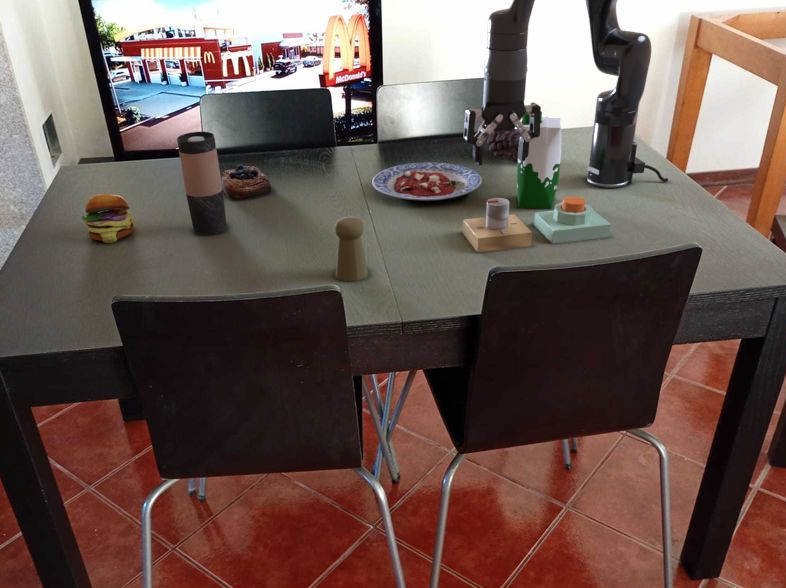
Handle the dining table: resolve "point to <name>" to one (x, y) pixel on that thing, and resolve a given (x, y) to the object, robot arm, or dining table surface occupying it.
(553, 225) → the button base
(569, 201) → the orange button cap
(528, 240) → the panel
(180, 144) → the travel mug
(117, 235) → the cheeseburger
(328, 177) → the dining table surface
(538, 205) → the milk carton
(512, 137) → the purple grape bunch
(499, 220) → the dial
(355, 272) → the wooden pawn
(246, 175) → the pastry
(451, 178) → the ceramic plate
